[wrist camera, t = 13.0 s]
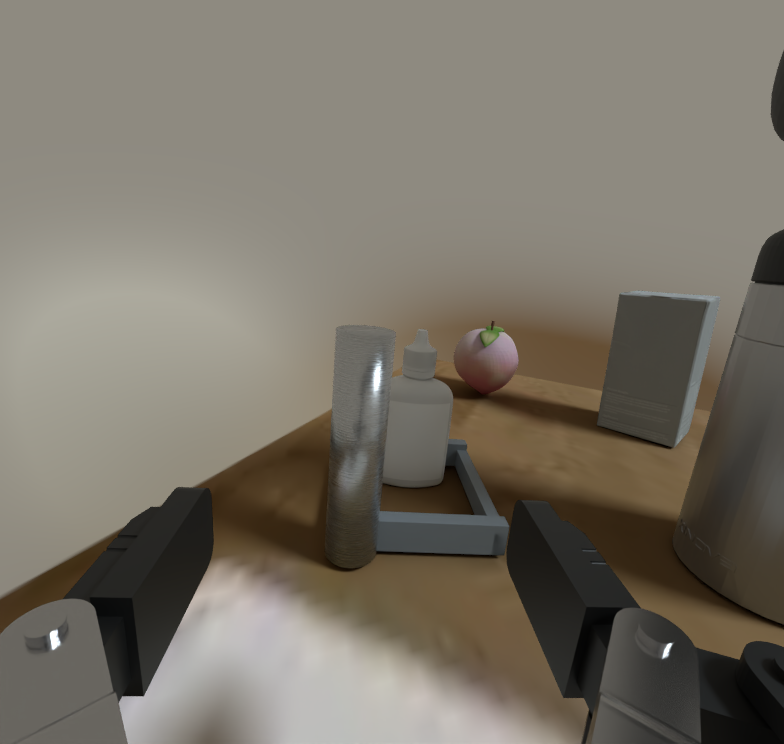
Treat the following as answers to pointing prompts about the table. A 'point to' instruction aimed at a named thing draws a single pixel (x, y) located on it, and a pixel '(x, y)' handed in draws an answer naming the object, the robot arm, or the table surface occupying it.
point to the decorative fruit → (486, 359)
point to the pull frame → (366, 465)
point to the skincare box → (656, 364)
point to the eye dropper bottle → (417, 420)
